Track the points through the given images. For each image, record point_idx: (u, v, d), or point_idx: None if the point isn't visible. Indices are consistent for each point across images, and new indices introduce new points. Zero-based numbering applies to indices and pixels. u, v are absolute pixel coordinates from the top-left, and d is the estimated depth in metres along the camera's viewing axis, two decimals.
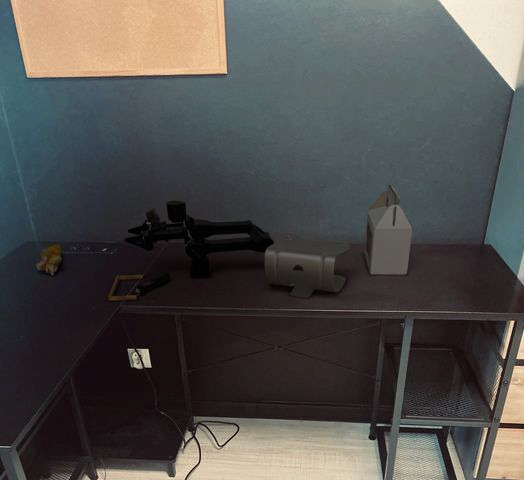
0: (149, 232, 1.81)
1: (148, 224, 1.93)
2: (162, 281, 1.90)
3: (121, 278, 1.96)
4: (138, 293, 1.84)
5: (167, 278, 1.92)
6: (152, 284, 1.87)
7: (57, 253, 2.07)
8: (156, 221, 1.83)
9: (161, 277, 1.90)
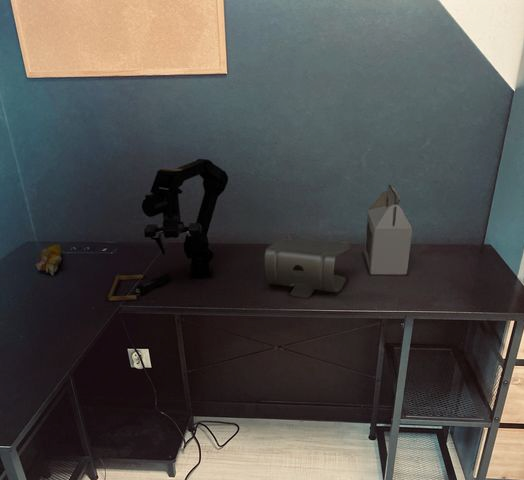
0: (194, 229, 1.77)
1: (158, 234, 1.78)
2: (162, 281, 1.90)
3: (121, 278, 1.96)
4: (138, 293, 1.84)
5: (167, 278, 1.92)
6: (152, 284, 1.87)
7: (57, 253, 2.07)
8: (183, 224, 1.73)
9: (161, 277, 1.90)
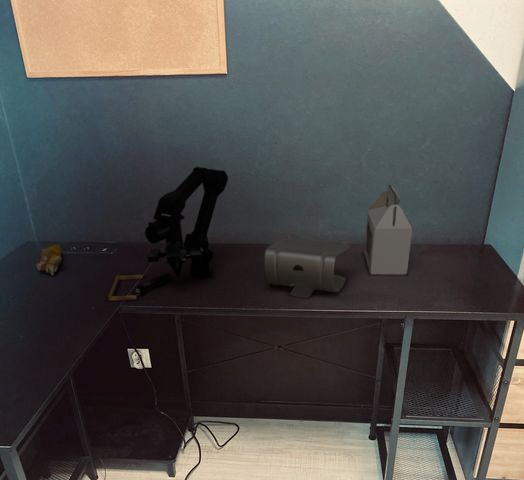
0: (196, 254, 1.81)
1: None
2: (162, 281, 1.90)
3: (121, 278, 1.96)
4: (138, 293, 1.84)
5: (167, 278, 1.92)
6: (152, 284, 1.87)
7: (57, 253, 2.07)
8: (186, 250, 1.77)
9: (161, 277, 1.90)
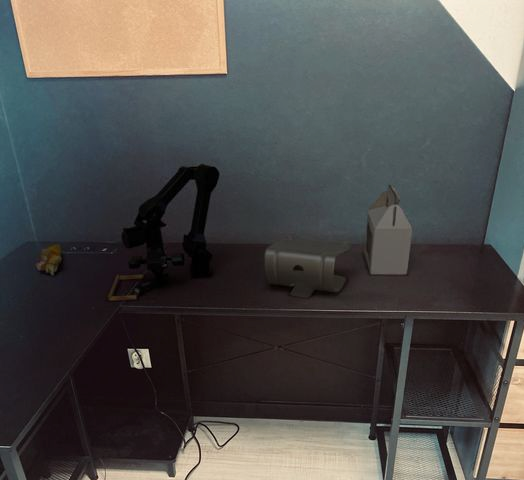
0: (177, 260, 1.82)
1: None
2: None
3: (121, 278, 1.96)
4: (137, 293, 1.84)
5: (166, 278, 1.92)
6: (151, 284, 1.87)
7: (57, 253, 2.07)
8: (166, 256, 1.78)
9: None
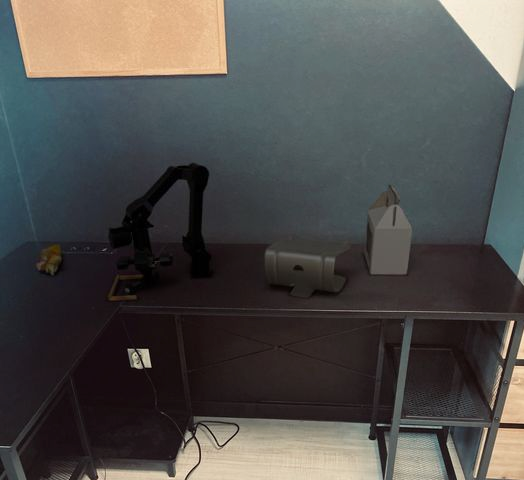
0: (165, 260, 1.82)
1: None
2: (151, 281, 1.91)
3: (121, 278, 1.96)
4: (128, 293, 1.84)
5: (156, 278, 1.93)
6: (141, 284, 1.87)
7: (57, 253, 2.07)
8: (154, 256, 1.78)
9: None
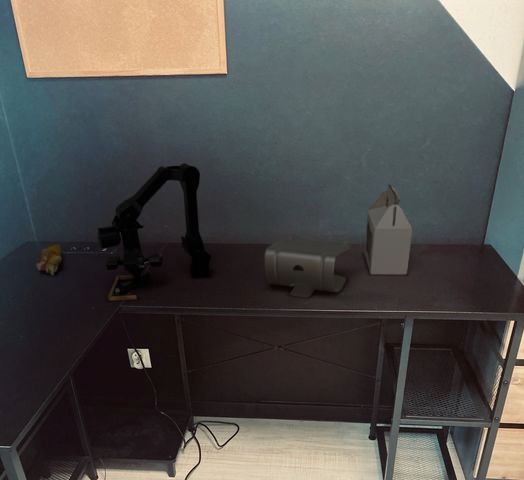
0: (154, 261, 1.81)
1: None
2: (142, 281, 1.91)
3: (121, 278, 1.96)
4: (118, 292, 1.84)
5: (147, 278, 1.93)
6: (132, 284, 1.87)
7: (57, 253, 2.07)
8: (143, 257, 1.78)
9: (141, 277, 1.91)
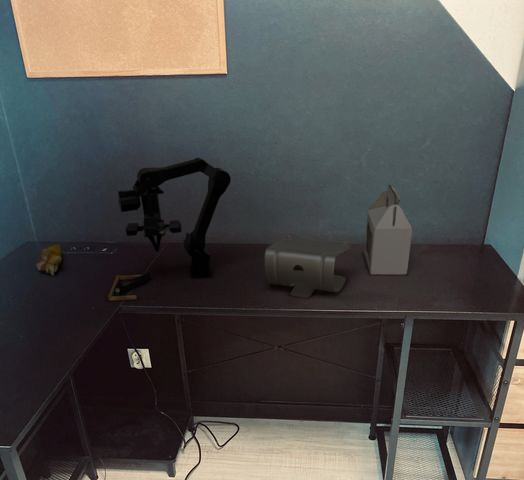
0: (174, 226, 1.81)
1: None
2: (142, 280, 1.91)
3: (121, 278, 1.96)
4: (118, 292, 1.84)
5: (147, 277, 1.93)
6: (132, 283, 1.87)
7: (57, 253, 2.07)
8: None
9: (141, 277, 1.91)
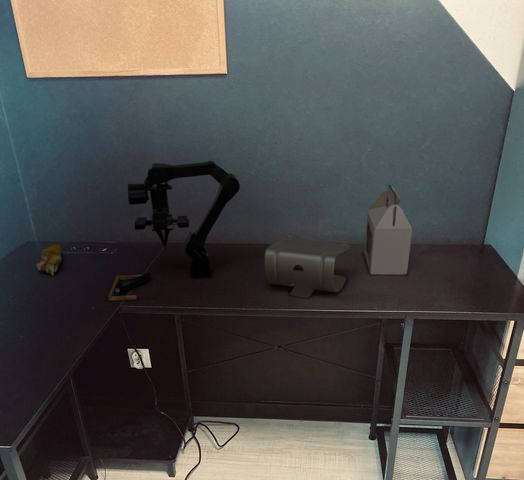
0: (182, 221, 1.84)
1: None
2: (142, 280, 1.91)
3: (121, 278, 1.96)
4: (118, 292, 1.84)
5: (147, 277, 1.93)
6: (132, 283, 1.87)
7: (57, 253, 2.07)
8: (172, 217, 1.80)
9: (141, 276, 1.91)
